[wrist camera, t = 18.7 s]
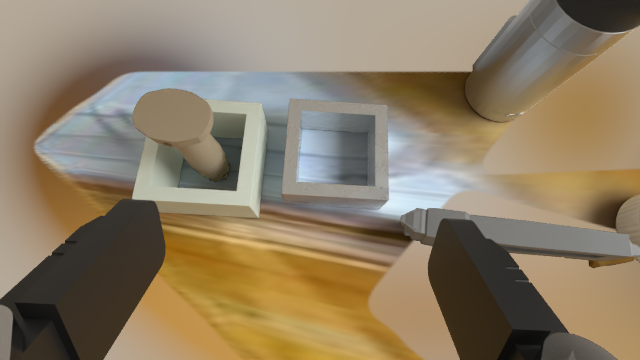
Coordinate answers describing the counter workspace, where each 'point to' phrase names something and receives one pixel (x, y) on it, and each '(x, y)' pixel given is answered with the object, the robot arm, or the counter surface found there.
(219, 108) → the cradle block
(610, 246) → the tapered grey rod
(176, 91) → the handle
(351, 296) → the counter surface
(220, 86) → the counter surface
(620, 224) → the ramekin
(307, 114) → the bore block
